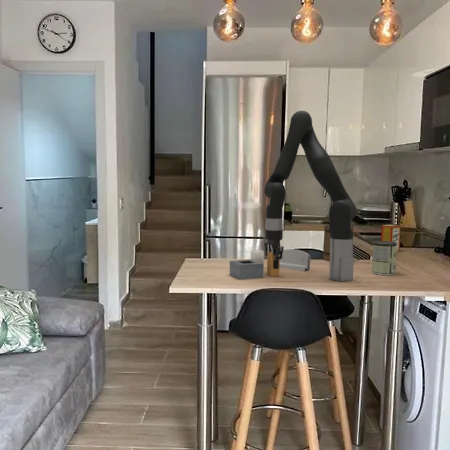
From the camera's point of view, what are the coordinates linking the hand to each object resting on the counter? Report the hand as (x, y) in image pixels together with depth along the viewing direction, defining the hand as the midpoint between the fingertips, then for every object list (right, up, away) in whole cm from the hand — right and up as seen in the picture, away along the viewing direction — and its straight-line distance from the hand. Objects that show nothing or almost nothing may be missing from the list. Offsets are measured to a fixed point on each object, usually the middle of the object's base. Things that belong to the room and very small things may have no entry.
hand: (273, 267), depth 207 cm
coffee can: (+50, -3, +7) cm, 51 cm away
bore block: (-12, -3, -2) cm, 13 cm away
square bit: (0, -3, 0) cm, 3 cm away
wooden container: (+38, 0, +42) cm, 57 cm away
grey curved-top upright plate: (+11, -2, +18) cm, 21 cm away
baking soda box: (+76, +3, +71) cm, 104 cm away
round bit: (-6, -2, +11) cm, 13 cm away
